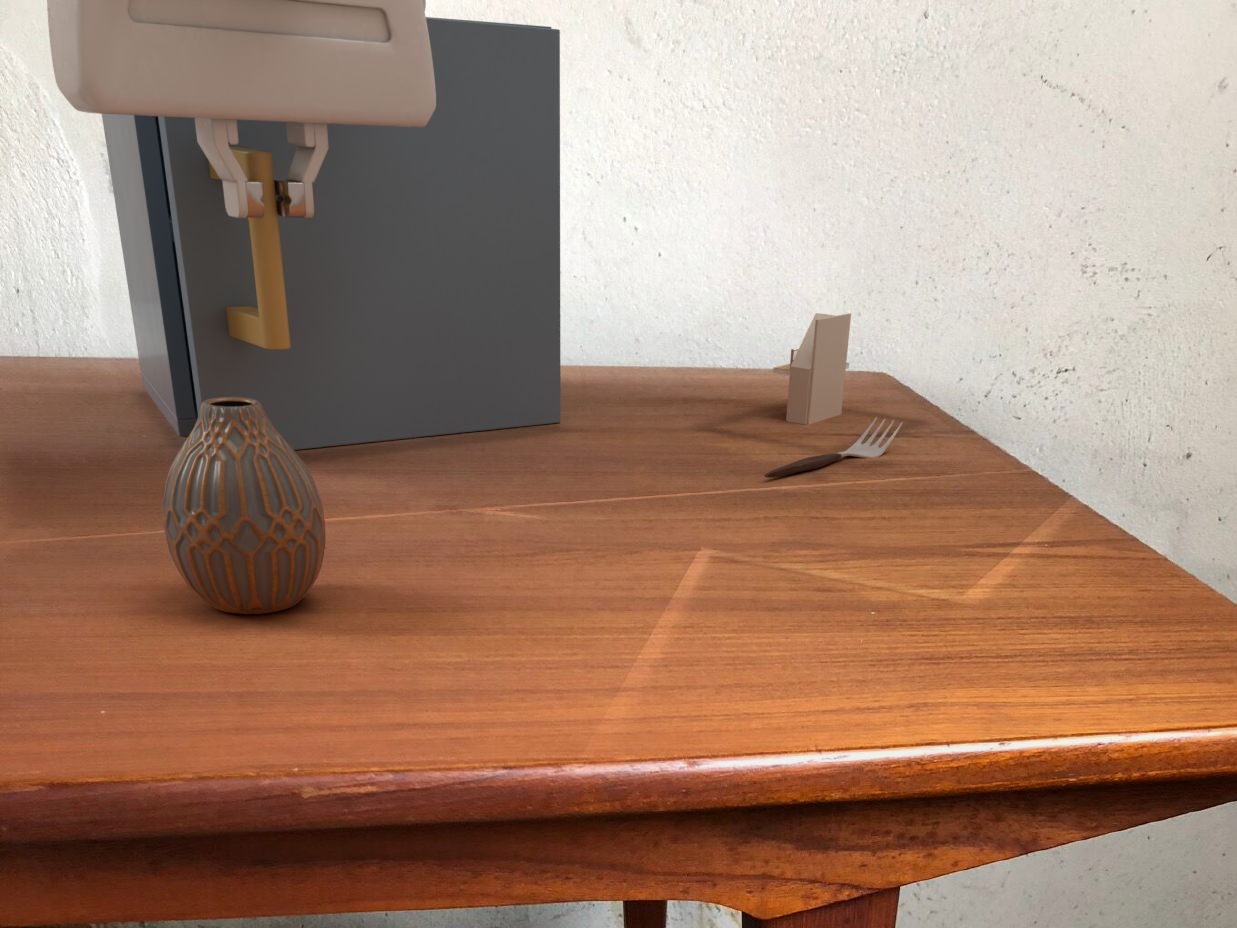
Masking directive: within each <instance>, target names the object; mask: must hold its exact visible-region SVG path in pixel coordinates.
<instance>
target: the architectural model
mask: <svg viewBox="0 0 1237 928" xmlns="http://www.w3.org/2000/svg"><path fill="white" fill-rule="evenodd" d="M851 318H852V313H850V312H847V313H843V314H838V315H834V314H827V313H821V312H816V313H814V316H813V318H812V320H811V322H810V325H809V326H808V328H807V331H806V333H805V335H804V337H803V339H802V341H801V344H800V346H799V347H798V349H793V348H792V349H791V350H790V361H789V363H788V364H784V365H778V366H774V367H773V369H772V370H773V372H772V373H773V374H778V375H785V376H789V379H788V380H789V381H788V394H787V405H786V416H785V417H786V419H785V422H789V423H795V424H800V425H801V424H802V425H812V424H815V423H818V422H822V421H824V420H829V419H832V418H835V417H837V416H841V415H842V409H843V401H844V389H845V380H846V370H847V369H850V363H849V362H848V361H847V359H848V350H849V340H850V330H851V329H850V328H851V320H852V319H851ZM795 352H796V353H795Z"/></svg>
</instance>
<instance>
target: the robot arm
mask: <svg viewBox="0 0 1237 928" xmlns="http://www.w3.org/2000/svg"><path fill="white" fill-rule="evenodd" d="M46 5H47V6H46V8H47V9H46V11H47V24H48V35H49V36H48V37H49V45H50V56H51V63H52V68H53V75H54V79H55V83H56V86H57V88H58V90H59V92H60V93H61V94H62V96H63V97H64V98H65V100H67V102H68V103H69V104H70V105H71V107H72V108H73V109H74V110H76V111H78V112H82V113H87V114H97V115H98V114H99V115H102V114H117V115H140V116H163V117H186V118H195V126H196V134H197V142H198V144H199V145H200V147H201V149H202V150H203V152H204V154H205V155H206V157H207V158H208V160H209V162H210V163H211V165H212V166H213V168H214V170H215V171H216V173H217V175H218V176H219V178H220V179H222V182H223V191H224V200H225V208H226V211H227V213H228V215H229V216H231V217H236V218H262V217H263V216H264V204H263V203H262V201H261V199H262V197H263V190H262V182H258V181H253V180H247V178H246V176H245V174H244V173H243V171H242V169H241V167H240V165H239V164H238V162H237V160H236V158H235V156H234V154H233V153H232V151H231V149H230V147H229V145H228V144H236V145H237V144H238V143H239V140H238V129H237V120H256V121H279V122H286V128H287V138H288V143H289V144H291V145H298V147H297V150H296V153H295V155H294V158H293V161H292V164H291V167H290V170H289V173H288V175H287V178H286V179H287V180H274V182H275V192H276V196H277V200H276V202H277V212H278V215H279V216H282V217H288V218H312V217H313V215H314V202H313V189H312V182H314V181H315V179H316V177H317V174H318V172H319V170H320V167H321V165H322V163H323V160H324V158H325V156H326V153H327V151H328V149H329V146H328V132H327V124H348V125H371V126H394V127H417V128H423V127H425V126H426V125H427V123H428V122H429V120H430V118H431V116H432V115H433V113H434V111H435V108H436V89H435V78H434V69H433V60H432V53H431V46H430V39H429V33H428V27H427V22H426V17H427V16H426V12H425V11H426V7H427V0H46Z"/></svg>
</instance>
